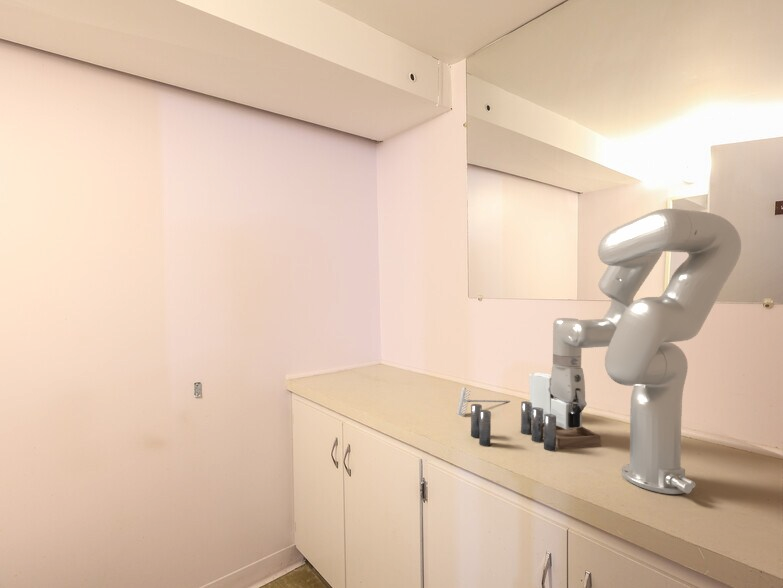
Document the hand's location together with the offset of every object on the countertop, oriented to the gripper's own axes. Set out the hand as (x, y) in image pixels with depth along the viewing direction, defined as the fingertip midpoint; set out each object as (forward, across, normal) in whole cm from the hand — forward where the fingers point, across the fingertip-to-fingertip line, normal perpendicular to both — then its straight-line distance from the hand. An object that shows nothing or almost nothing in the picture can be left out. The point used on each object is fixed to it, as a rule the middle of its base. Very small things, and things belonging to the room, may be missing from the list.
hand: (565, 422), depth 112 cm
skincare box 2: (+1, 0, 0) cm, 1 cm away
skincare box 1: (+5, +17, -4) cm, 18 cm away
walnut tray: (+5, 0, 0) cm, 5 cm away
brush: (+5, +30, +11) cm, 33 cm away
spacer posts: (+5, 0, +17) cm, 18 cm away
